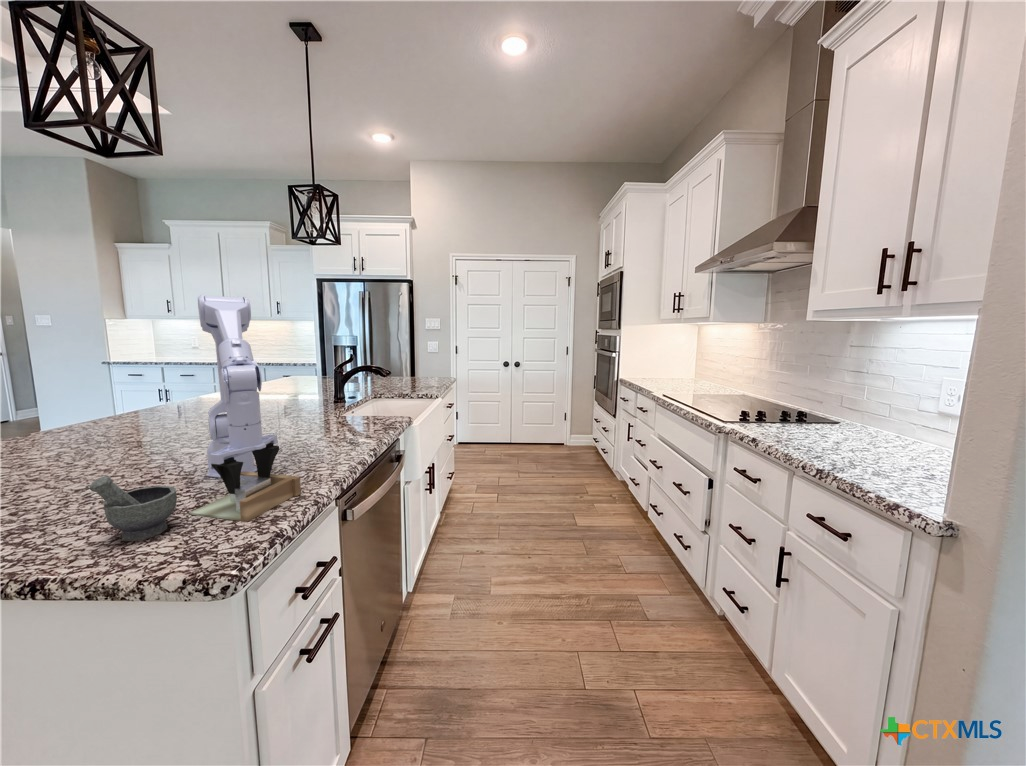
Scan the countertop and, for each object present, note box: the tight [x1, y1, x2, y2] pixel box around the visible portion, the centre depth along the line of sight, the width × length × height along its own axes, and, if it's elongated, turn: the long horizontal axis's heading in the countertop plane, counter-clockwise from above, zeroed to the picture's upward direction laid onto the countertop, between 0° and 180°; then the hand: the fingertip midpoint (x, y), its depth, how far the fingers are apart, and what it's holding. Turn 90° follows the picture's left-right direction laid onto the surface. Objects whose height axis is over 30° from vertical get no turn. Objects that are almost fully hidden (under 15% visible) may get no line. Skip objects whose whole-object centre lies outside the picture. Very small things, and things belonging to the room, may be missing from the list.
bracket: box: [230, 475, 271, 513], centre depth 83 cm, size 8×6×5 cm
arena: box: [188, 471, 302, 523], centre depth 84 cm, size 15×14×4 cm
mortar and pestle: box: [89, 475, 178, 542], centre depth 71 cm, size 11×9×12 cm
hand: (249, 486), depth 84 cm, fingers open, 7 cm apart
